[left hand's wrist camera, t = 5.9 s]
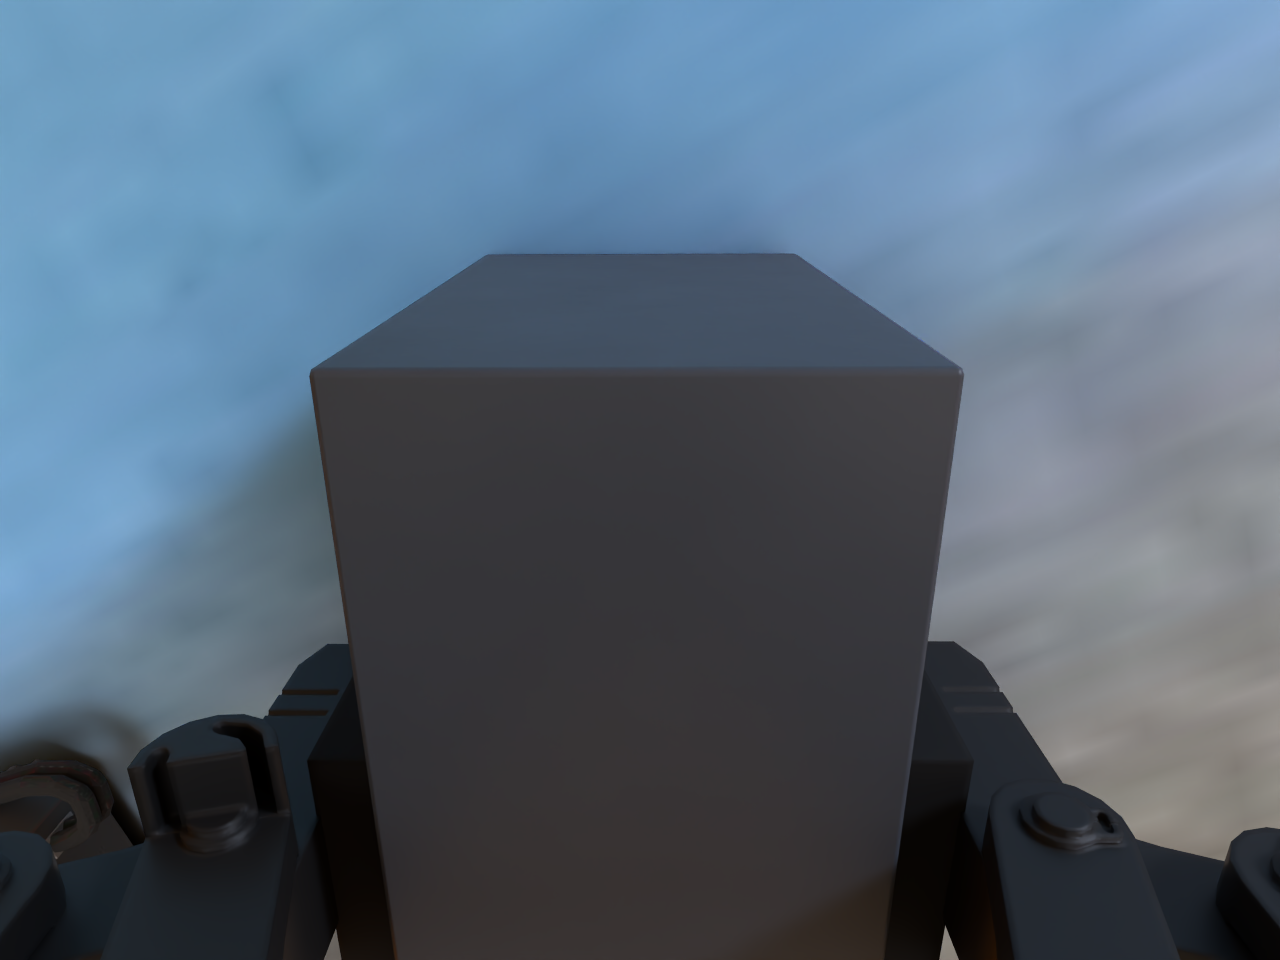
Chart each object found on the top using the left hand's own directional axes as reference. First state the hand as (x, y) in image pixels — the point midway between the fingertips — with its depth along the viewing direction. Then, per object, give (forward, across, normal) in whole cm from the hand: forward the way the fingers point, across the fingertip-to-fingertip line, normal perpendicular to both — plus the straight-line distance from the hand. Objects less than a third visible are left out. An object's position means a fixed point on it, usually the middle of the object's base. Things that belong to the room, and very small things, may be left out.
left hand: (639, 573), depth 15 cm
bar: (0, 0, -32) cm, 32 cm away
